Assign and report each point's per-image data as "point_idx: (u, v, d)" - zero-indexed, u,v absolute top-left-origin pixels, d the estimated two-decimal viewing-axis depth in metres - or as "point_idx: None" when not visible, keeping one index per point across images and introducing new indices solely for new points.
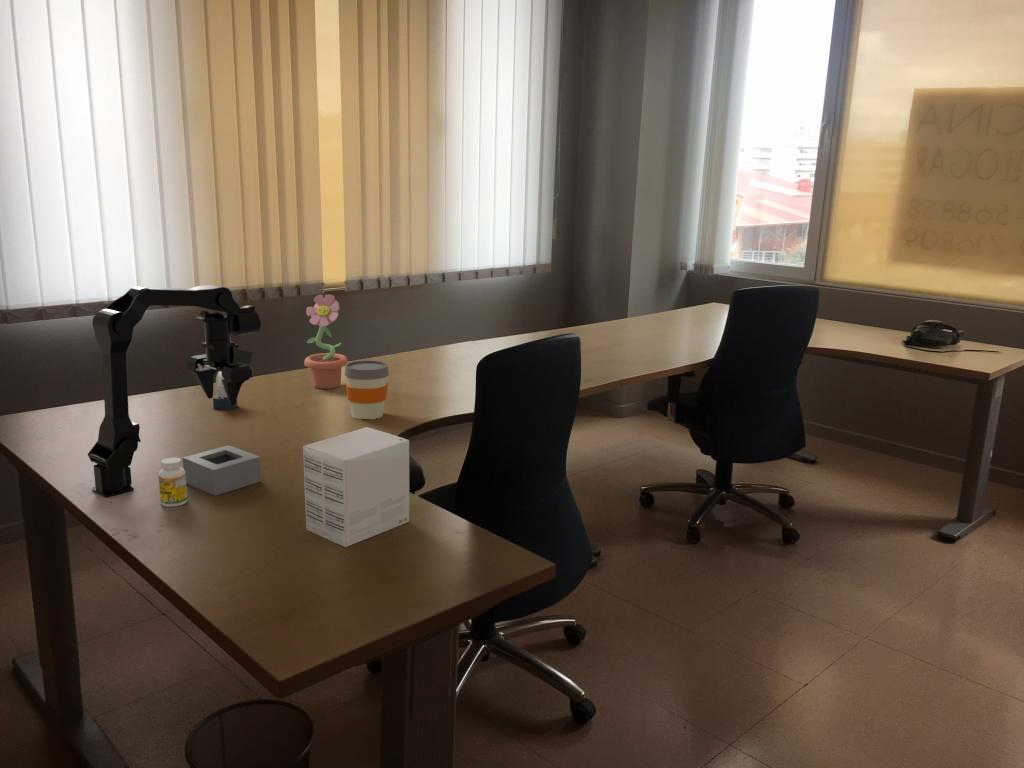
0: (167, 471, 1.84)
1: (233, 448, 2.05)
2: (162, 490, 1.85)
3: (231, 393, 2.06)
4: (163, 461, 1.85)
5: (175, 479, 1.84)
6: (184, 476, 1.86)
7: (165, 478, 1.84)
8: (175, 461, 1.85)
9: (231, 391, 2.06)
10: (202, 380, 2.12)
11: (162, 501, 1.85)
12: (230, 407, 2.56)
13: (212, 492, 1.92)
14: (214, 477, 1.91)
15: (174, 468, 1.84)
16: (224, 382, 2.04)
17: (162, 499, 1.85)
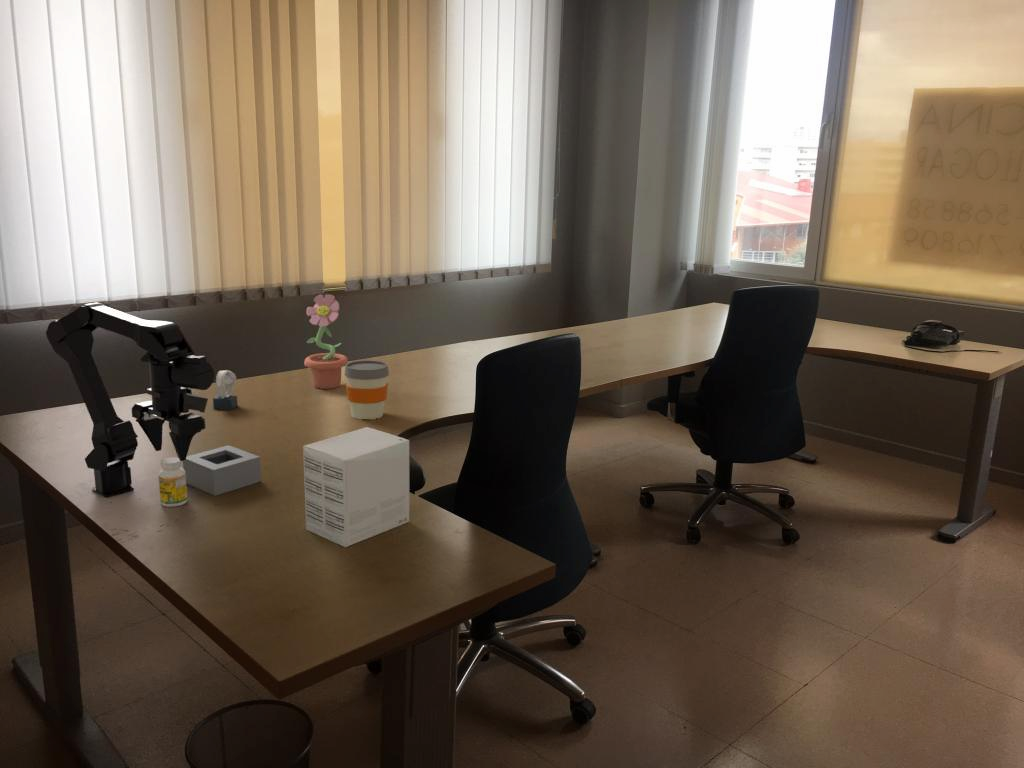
0: (167, 471, 1.84)
1: (233, 448, 2.05)
2: (162, 490, 1.85)
3: (180, 447, 1.80)
4: (163, 461, 1.85)
5: (175, 479, 1.84)
6: (184, 476, 1.86)
7: (165, 478, 1.84)
8: (175, 461, 1.85)
9: (180, 445, 1.80)
10: (149, 430, 1.86)
11: (162, 501, 1.85)
12: (230, 407, 2.56)
13: (212, 492, 1.92)
14: (214, 477, 1.91)
15: (174, 468, 1.84)
16: (172, 435, 1.78)
17: (162, 499, 1.85)
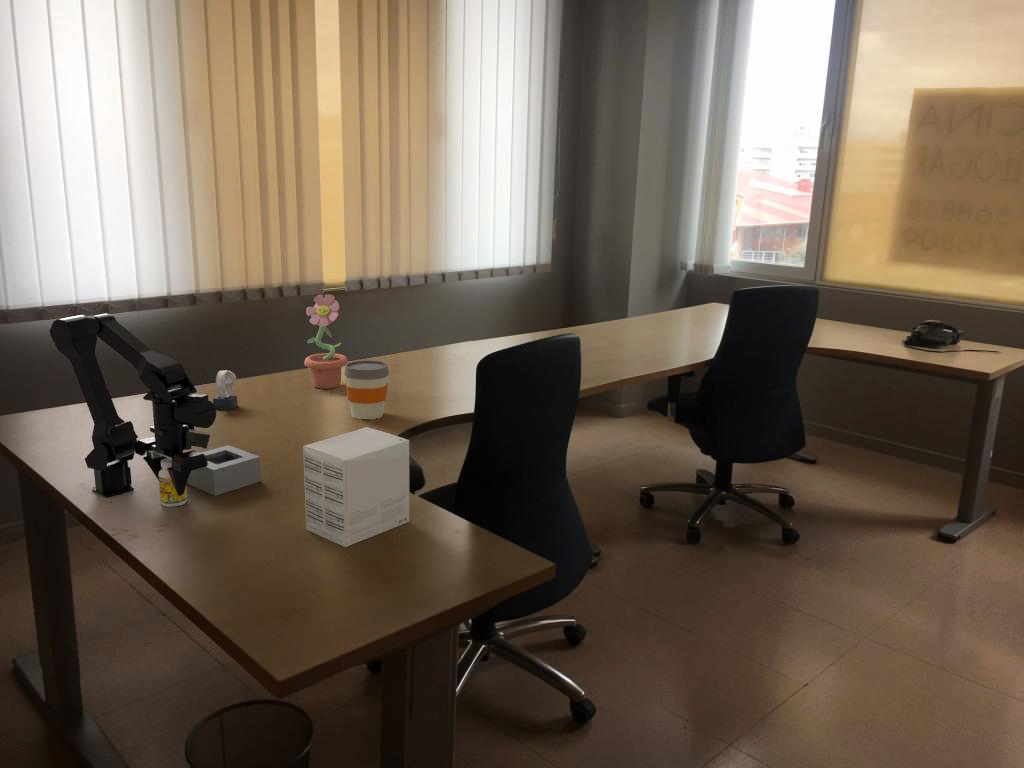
0: (167, 471, 1.84)
1: (233, 448, 2.05)
2: (162, 490, 1.85)
3: (178, 482, 1.83)
4: (163, 461, 1.85)
5: None
6: None
7: (165, 478, 1.84)
8: None
9: (178, 480, 1.83)
10: (156, 469, 1.86)
11: (162, 501, 1.85)
12: (230, 407, 2.56)
13: (212, 492, 1.92)
14: (214, 477, 1.91)
15: None
16: (170, 471, 1.81)
17: (162, 499, 1.85)
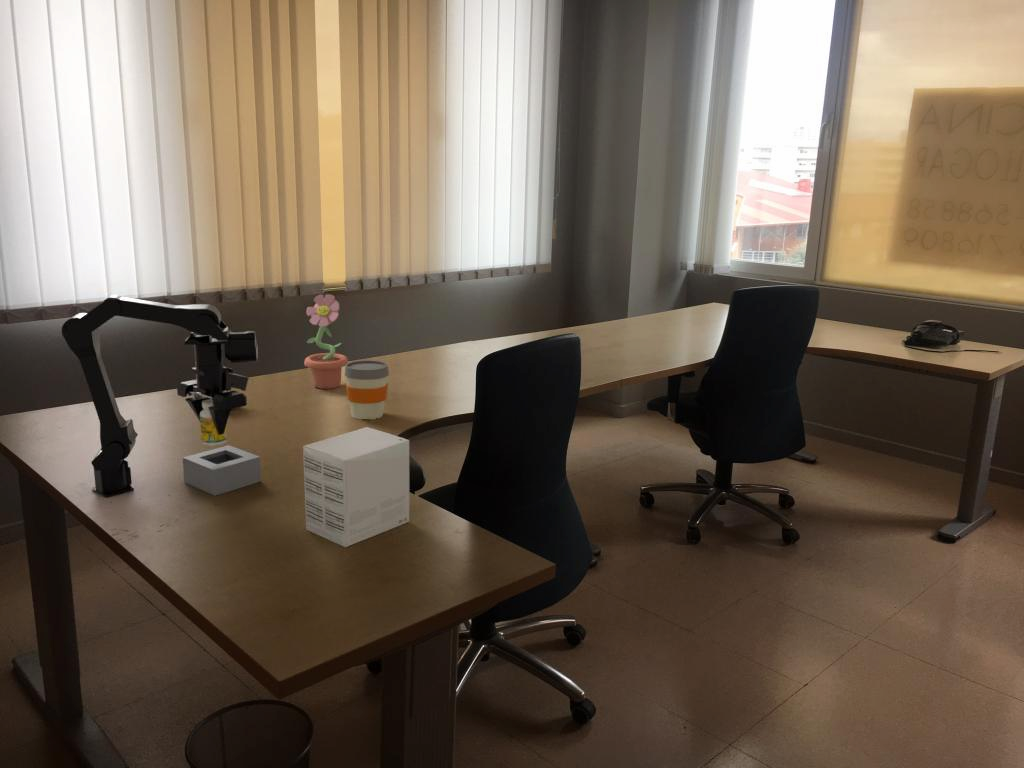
0: (208, 411, 1.92)
1: (233, 448, 2.05)
2: (203, 429, 1.93)
3: (219, 421, 1.91)
4: (204, 402, 1.93)
5: None
6: None
7: (206, 417, 1.92)
8: None
9: (219, 419, 1.91)
10: (197, 409, 1.95)
11: (203, 440, 1.93)
12: None
13: (212, 492, 1.92)
14: (214, 477, 1.91)
15: None
16: (211, 410, 1.89)
17: (203, 438, 1.93)
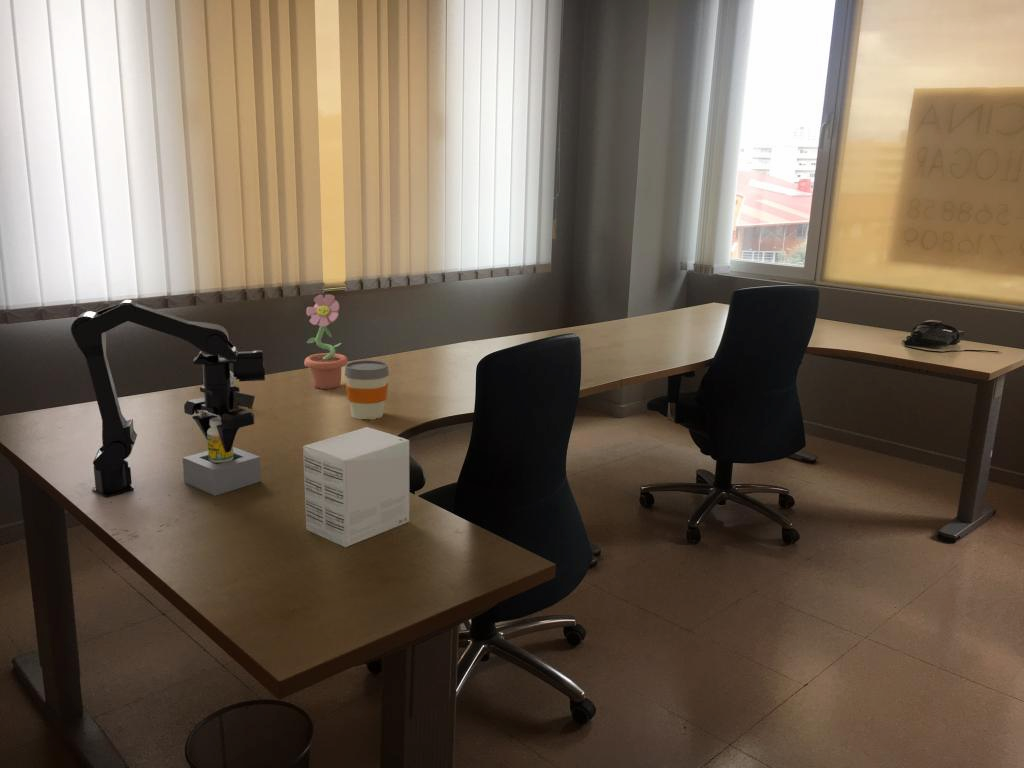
0: (216, 429, 1.95)
1: (233, 448, 2.05)
2: (211, 447, 1.96)
3: (226, 439, 1.94)
4: (212, 420, 1.96)
5: None
6: None
7: (213, 435, 1.95)
8: None
9: (226, 437, 1.94)
10: (204, 427, 1.98)
11: (210, 458, 1.97)
12: None
13: (212, 492, 1.92)
14: (214, 477, 1.91)
15: None
16: (219, 428, 1.92)
17: (210, 456, 1.96)
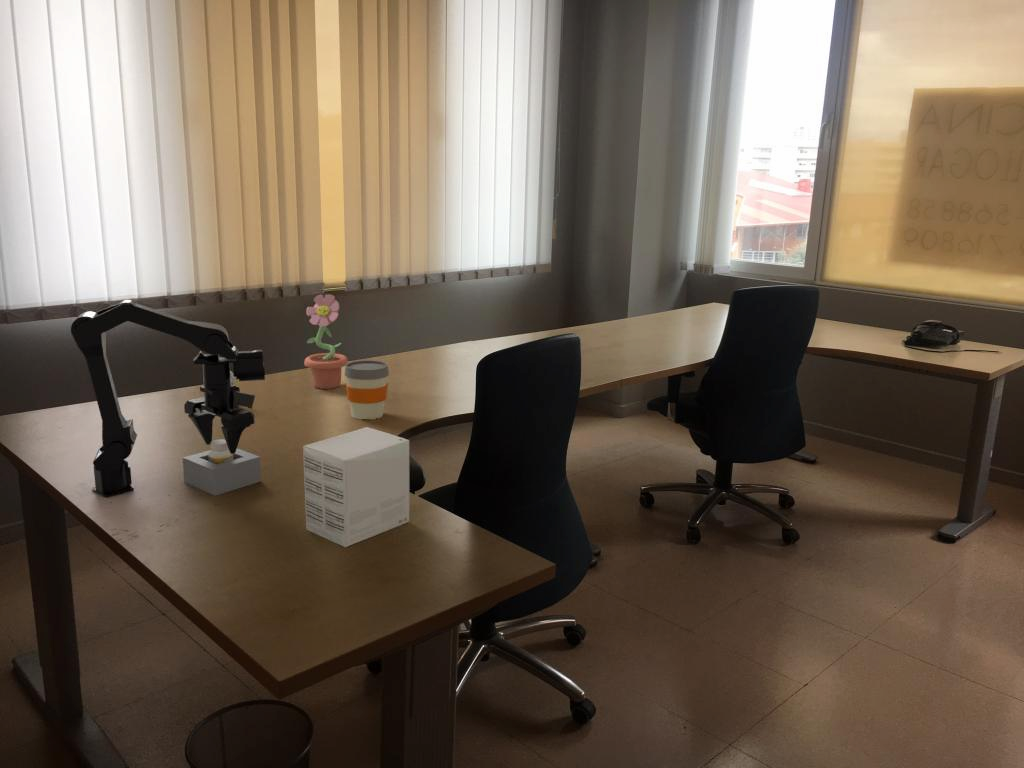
0: (217, 452, 1.97)
1: None
2: None
3: (231, 441, 1.93)
4: (213, 442, 1.97)
5: (224, 459, 1.97)
6: (232, 457, 1.99)
7: (215, 458, 1.96)
8: (224, 442, 1.97)
9: (231, 438, 1.93)
10: (200, 425, 1.99)
11: None
12: None
13: (212, 492, 1.92)
14: (214, 477, 1.91)
15: (223, 449, 1.97)
16: (224, 429, 1.91)
17: None
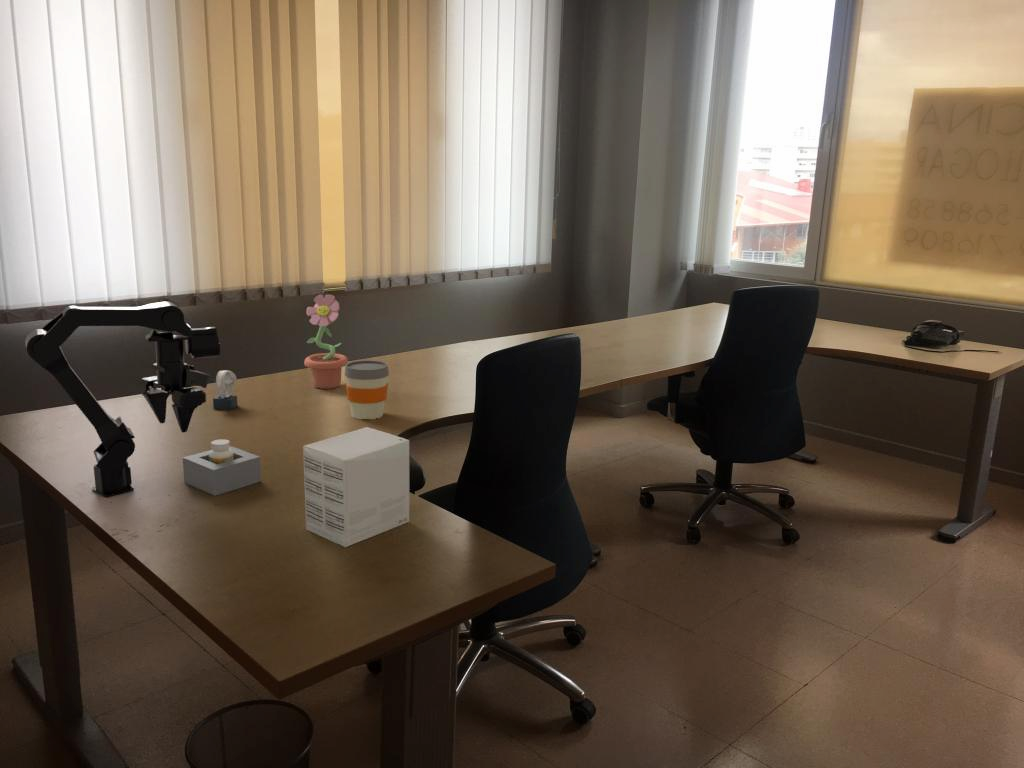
0: (217, 452, 1.97)
1: (233, 448, 2.05)
2: None
3: (182, 419, 1.92)
4: (213, 442, 1.97)
5: (224, 460, 1.97)
6: (232, 457, 1.99)
7: (215, 458, 1.96)
8: (224, 442, 1.97)
9: (182, 417, 1.92)
10: (153, 404, 1.97)
11: None
12: (230, 407, 2.56)
13: (212, 492, 1.92)
14: (214, 477, 1.91)
15: (224, 449, 1.97)
16: (174, 407, 1.89)
17: None
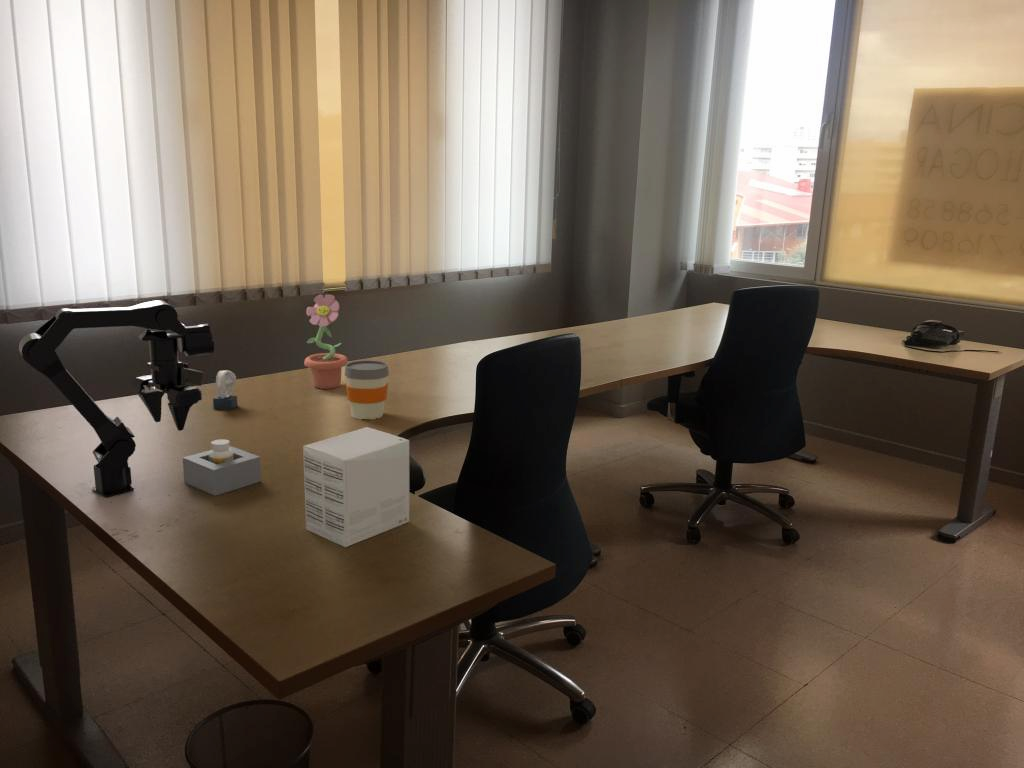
0: (217, 452, 1.97)
1: (233, 448, 2.05)
2: None
3: (178, 417, 1.92)
4: (213, 442, 1.97)
5: (224, 459, 1.97)
6: (232, 457, 1.99)
7: (215, 458, 1.96)
8: (224, 442, 1.97)
9: (178, 415, 1.92)
10: (148, 403, 1.97)
11: None
12: (230, 407, 2.56)
13: (212, 492, 1.92)
14: (214, 477, 1.91)
15: (224, 449, 1.97)
16: (170, 406, 1.90)
17: None
